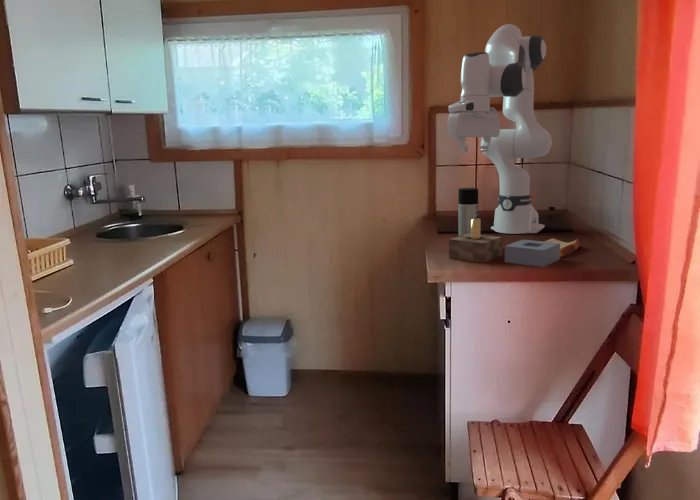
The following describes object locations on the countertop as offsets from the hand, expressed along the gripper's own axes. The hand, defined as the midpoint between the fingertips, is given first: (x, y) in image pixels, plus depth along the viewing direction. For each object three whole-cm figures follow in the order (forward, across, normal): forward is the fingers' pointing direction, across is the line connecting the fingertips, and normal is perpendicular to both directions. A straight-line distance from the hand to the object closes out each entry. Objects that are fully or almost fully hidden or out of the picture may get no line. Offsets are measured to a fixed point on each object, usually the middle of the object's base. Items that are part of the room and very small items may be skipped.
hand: (474, 152), depth 180 cm
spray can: (+32, -9, -10) cm, 35 cm away
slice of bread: (+33, -24, +15) cm, 43 cm away
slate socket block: (+33, -6, +18) cm, 38 cm away
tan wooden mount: (+33, +1, +2) cm, 33 cm away
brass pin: (+33, +1, +2) cm, 33 cm away
